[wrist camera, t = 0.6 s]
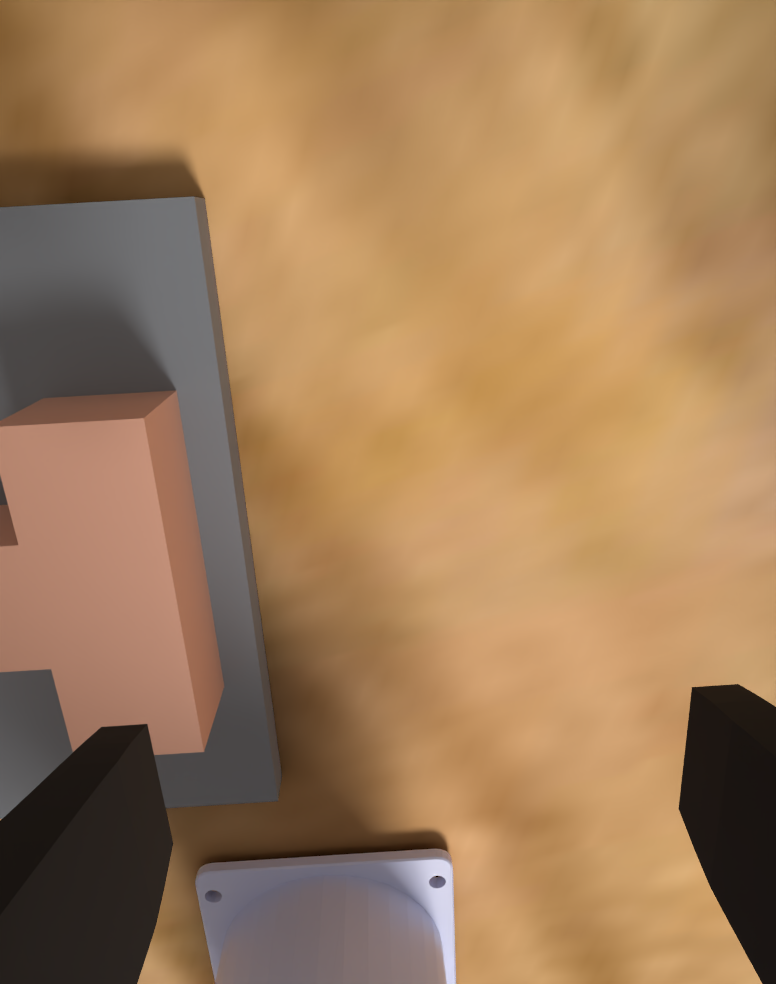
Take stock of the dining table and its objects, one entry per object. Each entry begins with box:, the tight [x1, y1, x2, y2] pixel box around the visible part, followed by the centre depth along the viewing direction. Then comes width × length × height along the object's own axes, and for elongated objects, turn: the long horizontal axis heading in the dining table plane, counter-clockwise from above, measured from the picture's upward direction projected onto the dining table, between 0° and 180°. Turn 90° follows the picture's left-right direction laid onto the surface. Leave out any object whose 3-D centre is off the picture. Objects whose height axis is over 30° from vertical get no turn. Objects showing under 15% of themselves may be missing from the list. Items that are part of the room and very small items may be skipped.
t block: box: [0, 390, 224, 755], centre depth 16 cm, size 8×8×2 cm
